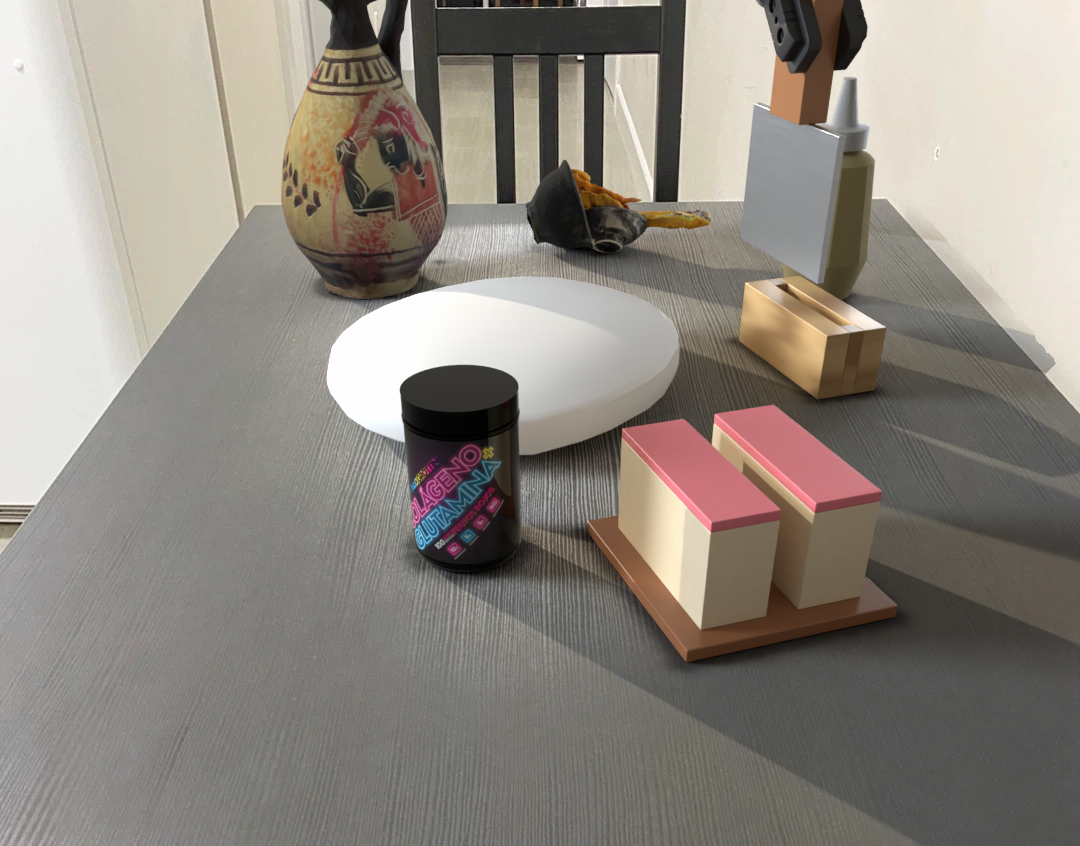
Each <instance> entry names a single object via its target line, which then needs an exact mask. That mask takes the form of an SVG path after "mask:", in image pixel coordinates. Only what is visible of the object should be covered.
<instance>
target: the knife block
mask: <svg viewBox="0 0 1080 846" xmlns="http://www.w3.org/2000/svg"><path fill="white" fill-rule="evenodd" d="M743 290H744V291H743V300H742V309H741V317H740V328H739V335H738V336H739V337H738V341H739V342H740V343H741V344H742V345H743V346H744V347H746V348H747V349H748V350H750V351H752V352H753V353H754V354H755V355H757V356H758V357H760V358H761V359H763V361H764V362H766V363H768V364H769V365H770V366H771V367H773V368H774V369H776V370H777V371H778V372H780V373H781V374H783V375H784V376H785V377H786V378H788V379H789V380H790V381H792V382H793V383H794V384H796V385H797V386H798V387H800V388H801V389H803V390H804V391H805V392H807V393H808V394H809V395H810V396H812V397H813V398H814V399H815V400H823V399H830V398H836V397H841V396H847V395H852V394H861V393H867V392H872V391H875V390H876V385H877V381H878V375H879V370H880V365H881V359H882V354H883V349H884V346H885V345H884V344H885V339H886V333H887V330H888V329H887V326H885V325H883V324H881V323H880V322H878V321H876V320H875V319H873V318H871V316H870V317H869V316H868V315H867V314H864V313H863V312H861V311H859V310H857V309H856V308H854V307H853V306H851V305H850V304H848V303H846V302H844V301H843V300H839V299H838V298H836V297H834V296H833V295H831V294H829V293H828V292H826V291H824V290H823V289H821V288H819V287H818V286H816V285H814V284H813V283H811V282H809V281H808V280H806V279H804V278H803V277H801V276H793V277H785V278H784V277H777V278H770V279H761V280H754V281H746V282H744V289H743Z"/></svg>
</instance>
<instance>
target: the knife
mask: <svg viewBox="0 0 1080 846" xmlns="http://www.w3.org/2000/svg"><path fill="white" fill-rule="evenodd" d="M811 1H812V4H813V7H814V10H815V14H816V18H817V22H818V25H819V29H820V33H821V37H822V46H821V50H820V52H819V54H818V55H817V57H816V58H815V60H814V61H813V63H812V64H811V66H810V68H809V69H808V71H807V72H806V73H796V74H791V73H790V72H789V70H788V67H787V63H786V62H782V61H781V60H780V58H779V57H778V55H777V54H776V53H775V58H774V59H775V60H774V68H773V78H772V87H771V96H770V104H769V105H767V104H765V103H762V102H754V103H753V110H752V119H751V129H750V139H749V149H748V158H747V169H746V177H745V187H744V196H743V197H744V198H743V206H742V215H741V227H740V235H739V236H740V237H739V238H740V239H741V240H743V241H745V242H747V243H748V244H750V245H752V246H753V247H754V248H757V249H758V250H760V251H761V252H763V253H765V254H766V255H768V256H770V257H771V258H773V259H775V260H776V261H778V262H780V263H781V264H782V263H783V264H785V265H786V266H788V267H790V268H791V269H793V270H795V271H796V272H798V273H800V274H801V275H803V276H805V277H806V278H808V279H810V280H811V281H813V282H814V283H816V284H822V283H824V276H825V270H826V263H827V257H828V250H829V243H830V237H831V230H832V224H833V217H834V211H835V204H836V198H837V191H838V185H839V178H840V171H841V165H842V158H843V152H844V145H845V139H846V136H844V135H842V134H839V133H837V132H834V131H832V130H829V129H826V128H824V127H821V126H819V125H817V124H820V123H826V122H828V114H829V107H830V99H831V93H832V86H833V78H834V74H835V73H834V72H835V71H834V63H835V56H836V49H837V42H838V35H839V28H840V21H841V14H842V7H843V2H844V0H811Z"/></svg>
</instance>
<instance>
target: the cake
mask: <svg viewBox="0 0 1080 846" xmlns="http://www.w3.org/2000/svg"><path fill="white" fill-rule="evenodd" d="M713 418H714V419H713V428H712V438H711V443H710V441H708V440H707V439H706V438H705V437H704V436H703V435H702V434H701V433H700V432H698V430H697V429H696V428H694V426H693V425H691V424H690V423H689V422H688V421H687V420H686V419H684V418H680V419H675V420H673V419H672V420H668V421H662V422H661V421H660V422H655V423H654V422H653V423H649V424H642V425H636V426H630V427H623V428H622V429H621V444H620V445H621V447H620V448H621V449H620V470H619V471H620V473H619V497H618V515H613V516H607V517H603V518H602V517H601V518H595V519H590V520H587V522H586V532H587V534H588V535H589V536H590V537H591V539H592V540H593V541H594V543H595V544H596V545H597V547H598V548H599V549H600V551H601V552H602V553H603V554H604V556H605V557H606V558H607V560H608V561H609V562H610V564H611V565H612V566H613V568H614V569H615V570H616V572H617V573H618V574H619V576H620V577H621V579H622V580H623V581H624V583H626V585H627V587H628V588H629V589H630V590H631V592H632V593H633V594H634V595H635V597H636V598H637V600H638V601H639V602H640V603H641V605H642V606H643V607H644V609H645V610H646V611H647V613H648V614H649V615H650V617H651V618H652V619H653V621H654V622H655V624H656V625H657V626H658V627H659V629H660V630H661V631H662V632H663V634H664V635H665V637H666V638H667V639H668V640H669V642H670V643H671V645H672V646H673V647H674V648H675V650H676V651H677V652H678V654H679V655H680V656H681V658H682V659H683V660H684V662H685V663H691V662H694V661H699V660H704V659H708V658H709V659H710V658H713V657H718V656H723V655H726V654H731V653H736V652H741V651H745V650H750V649H755V648H760V647H764V646H768V645H772V644H778V643H781V642H786V641H791V640H796V639H801V638H805V637H810V636H815V635H818V634H823V633H827V632H833V631H837V630H842V629H847V628H850V627H856V626H859V625H864V624H869V623H874V622H879V621H882V620H887V619H891V618H895V617H897V611H898V608H899V607H898V604H896V602H895V601H893V600H892V598H890V596H888V595H887V594H886V593H885V592H884V591H882V589H880V588H879V587H878V585H876V584H875V583H874V582H873V581H872V580H871V579H870V578H869V577H867V575H866V574H867V573H866V572H867V568H868V564H869V559H870V554H871V549H872V544H873V539H874V536H875V535H874V534H875V529H876V525H877V521H878V515H879V510H880V507H881V500H882V497H883V496H882V495H883V491H882V490H881V489H880V488H879V487H878V486H876V485H875V484H874V483H873V482H871V481H870V480H869V479H868V478H866V477H865V476H864V475H863V474H861V473H860V472H859V471H858V470H857V469H855V468H854V467H852V466H851V465H850V464H848V462H846V461H845V460H844V459H843V458H841V457H840V456H839V455H838V454H836V453H835V452H834V451H832V450H831V449H830V448H829V447H827V446H826V445H825V444H823V443H822V442H821V441H820V440H819V439H818V438H816V437H815V436H814V435H812V434H811V433H810V432H809V431H808V430H806V429H805V428H804V427H802V426H801V425H800V424H799V423H797V422H796V421H795V420H794V419H792V418H791V417H790V416H788V415H787V414H786V413H785V412H784V411H783V410H781V409H780V408H779V407H778V406H776V405H775V404H770V405H769V404H768V405H763V406H756V407H750V408H745V409H738V410H730V411H725V412H719V413H718V412H717V413H715V414H714V417H713Z"/></svg>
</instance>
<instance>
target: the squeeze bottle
mask: <svg viewBox="0 0 1080 846" xmlns="http://www.w3.org/2000/svg"><path fill="white" fill-rule="evenodd" d="M816 125H819V126H821V127H824V128H826V129H829V130H832V131H834V132H837V133H839V134H842V135H844V136H846V139H845V145H844V152H843V158H842V165H841V171H840V178H839V185H838V191H837V198H836V204H835V211H834V217H833V224H832V230H831V237H830V243H829V250H828V257H827V263H826V270H825V276H824V283H822V284H816V283H814V282H813V281H811V280H810V279H808V278H806V277H805V276H803V275H801V274H800V273H798V272H796V271H795V270H793V269H791V268H790V267H788V266H786V265H785V264H783V263H781V267H782V273H783V278H785V277H793V276H801V277H803V278H804V279H806V280H808V281H809V282H811V283H813V284H814V285H816V286H818V287H819V288H821V289H823V290H824V291H826V292H828V293H829V294H831V295H833V296H834V297H836V298H838V299H839V300H841V301H843V300H845V299H847V298H849V297H850V295H851V292H852V290H853V289H854V286H855V284H856V282H857V281H858V278H859V276H860V274H861V273H862V270H863V268H864V266H865V264H866V262H867V260H868V256H869V244H870V242H869V241H870V230H871V218H872V217H871V216H872V206H873V205H872V204H873V194H874V193H873V192H874V178H875V167H876V166H875V165H876V159H875V158H874V157H873V155H871V153H869V152H867V150H866V149H867V146H868V142H869V141H868V140H869V135H870V129H871V127H870V126H869V125H867V124H865V123H861V122H860V121H859V97H858V78H857V77H853V76H845V77H843V78H842V80H841V83H840V86H839V89H838V92H837V95H836V97H835V101H834V104H833V107H832V110H831V113H830V116H829V119H828V120H827V122H826V123H820V124H816Z"/></svg>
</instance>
